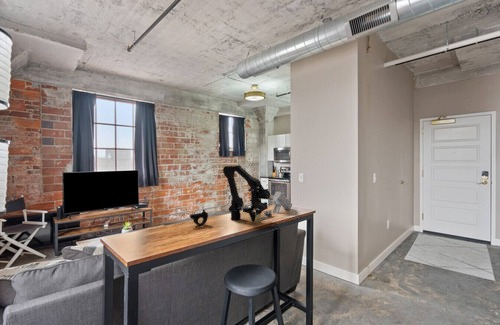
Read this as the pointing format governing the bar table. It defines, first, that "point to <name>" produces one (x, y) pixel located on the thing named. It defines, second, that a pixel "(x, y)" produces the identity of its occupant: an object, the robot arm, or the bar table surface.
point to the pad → (264, 218)
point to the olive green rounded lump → (256, 218)
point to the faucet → (281, 202)
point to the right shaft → (268, 213)
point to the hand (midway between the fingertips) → (255, 220)
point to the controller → (199, 215)
